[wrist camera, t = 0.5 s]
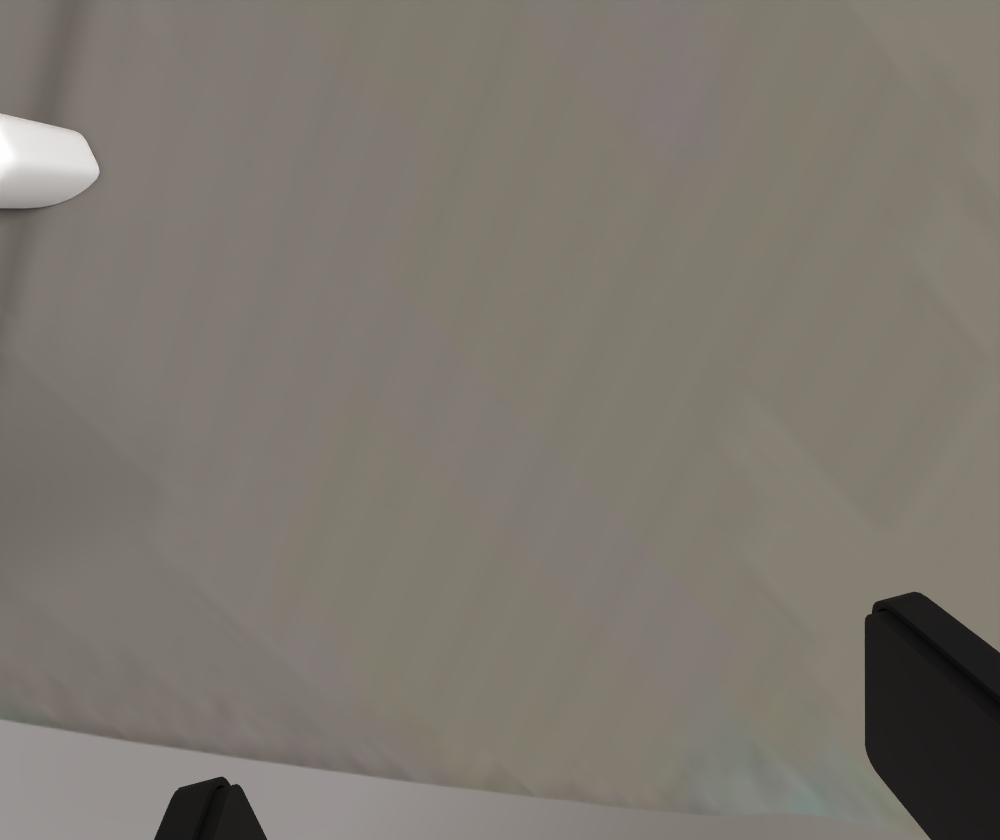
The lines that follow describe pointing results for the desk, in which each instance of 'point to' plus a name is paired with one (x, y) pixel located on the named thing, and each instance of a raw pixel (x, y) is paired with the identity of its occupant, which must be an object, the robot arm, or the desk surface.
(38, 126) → the eye dropper bottle
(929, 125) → the desk surface
